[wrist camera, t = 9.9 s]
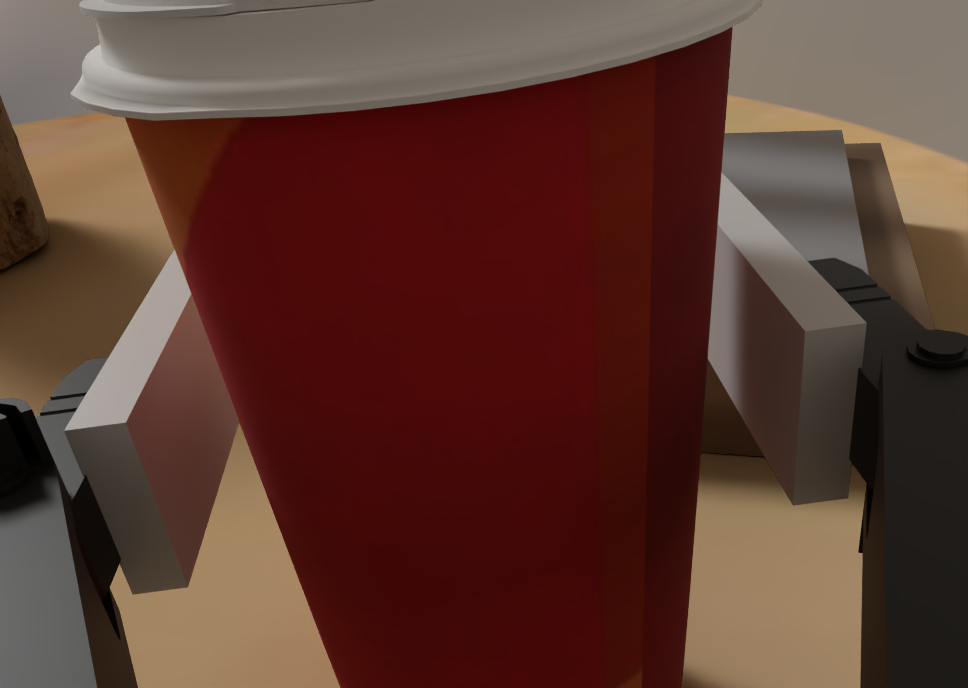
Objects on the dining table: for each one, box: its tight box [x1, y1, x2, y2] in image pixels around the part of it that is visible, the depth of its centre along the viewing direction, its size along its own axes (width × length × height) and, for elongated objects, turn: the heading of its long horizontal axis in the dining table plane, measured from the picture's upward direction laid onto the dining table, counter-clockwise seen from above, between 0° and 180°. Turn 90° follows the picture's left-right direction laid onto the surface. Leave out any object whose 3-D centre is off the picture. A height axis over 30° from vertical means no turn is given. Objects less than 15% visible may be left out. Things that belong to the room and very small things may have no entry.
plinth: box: [701, 130, 935, 457], centre depth 30 cm, size 16×16×4 cm
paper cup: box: [70, 0, 763, 688], centre depth 13 cm, size 8×8×14 cm
